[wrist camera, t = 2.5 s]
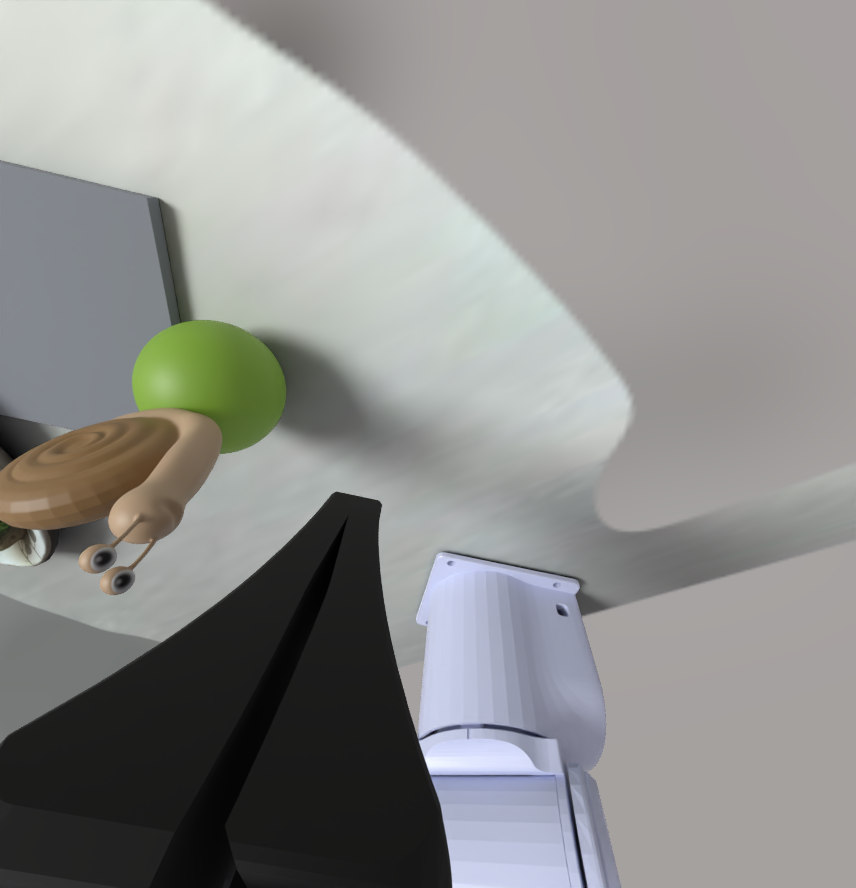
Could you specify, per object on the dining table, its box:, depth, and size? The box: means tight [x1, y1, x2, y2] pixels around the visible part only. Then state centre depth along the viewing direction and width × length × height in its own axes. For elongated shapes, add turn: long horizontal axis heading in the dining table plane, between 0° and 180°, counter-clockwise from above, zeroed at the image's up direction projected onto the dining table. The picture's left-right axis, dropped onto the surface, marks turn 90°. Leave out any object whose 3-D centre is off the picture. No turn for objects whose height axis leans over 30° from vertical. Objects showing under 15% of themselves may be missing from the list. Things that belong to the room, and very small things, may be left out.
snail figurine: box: [0, 320, 286, 595], centre depth 12 cm, size 5×6×12 cm
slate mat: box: [0, 160, 180, 430], centre depth 17 cm, size 15×12×1 cm
